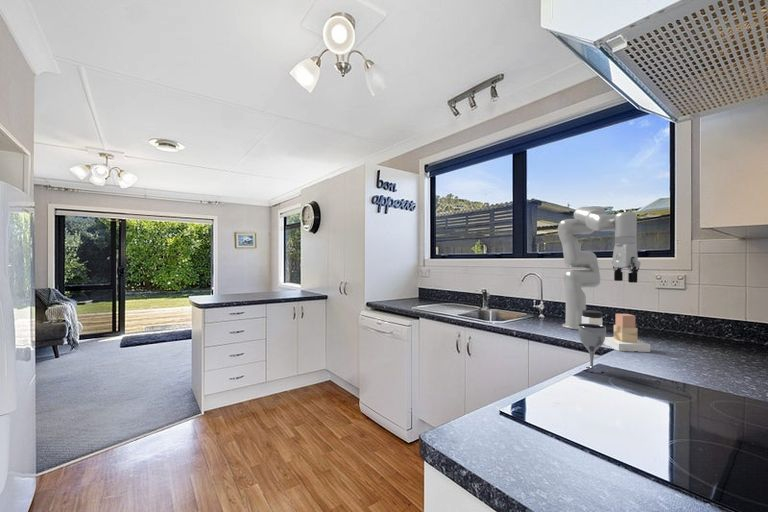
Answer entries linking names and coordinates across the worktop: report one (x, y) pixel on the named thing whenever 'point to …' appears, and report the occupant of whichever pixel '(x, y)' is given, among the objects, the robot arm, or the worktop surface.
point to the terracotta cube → (625, 320)
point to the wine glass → (592, 338)
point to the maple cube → (625, 334)
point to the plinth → (627, 345)
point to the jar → (591, 317)
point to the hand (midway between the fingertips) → (625, 281)
